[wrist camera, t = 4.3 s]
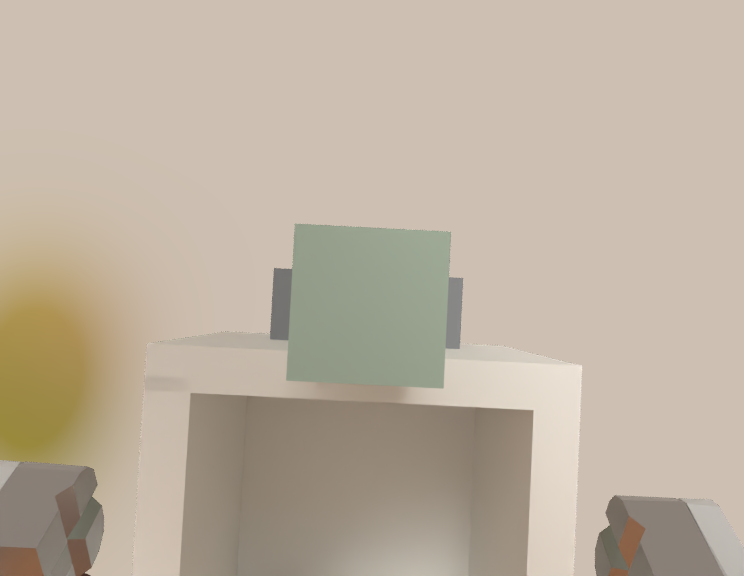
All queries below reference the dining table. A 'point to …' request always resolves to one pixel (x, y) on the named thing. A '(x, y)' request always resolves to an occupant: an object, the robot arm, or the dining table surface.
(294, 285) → the t-shaped bar
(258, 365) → the tall white box
